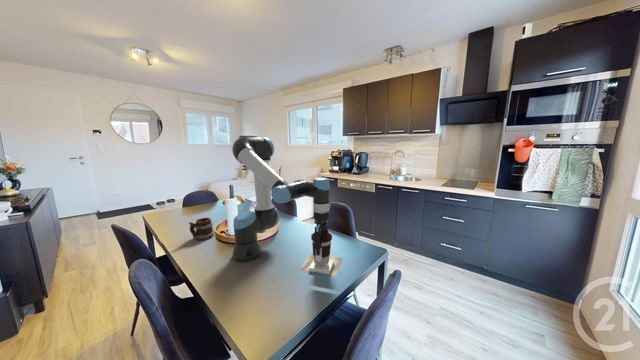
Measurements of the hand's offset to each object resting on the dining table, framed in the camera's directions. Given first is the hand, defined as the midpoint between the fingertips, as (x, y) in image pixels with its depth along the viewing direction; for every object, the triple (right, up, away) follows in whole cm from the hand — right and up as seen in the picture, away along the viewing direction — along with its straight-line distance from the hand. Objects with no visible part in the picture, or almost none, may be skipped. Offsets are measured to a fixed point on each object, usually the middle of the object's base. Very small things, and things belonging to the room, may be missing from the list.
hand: (321, 255), depth 105 cm
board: (0, -7, +4) cm, 8 cm away
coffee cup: (0, -3, 0) cm, 3 cm away
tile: (+2, -4, +5) cm, 7 cm away
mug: (-78, -2, +38) cm, 87 cm away
